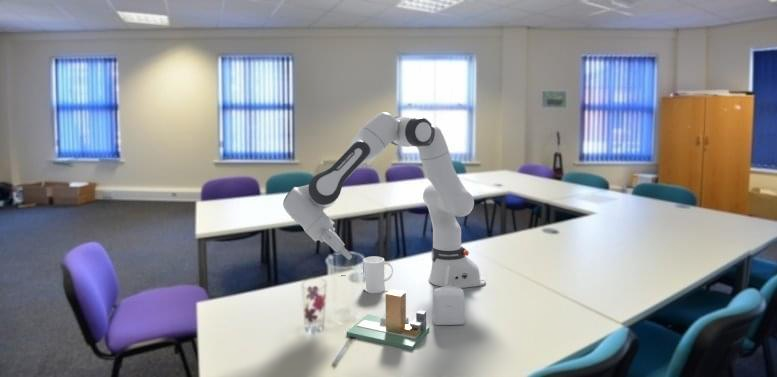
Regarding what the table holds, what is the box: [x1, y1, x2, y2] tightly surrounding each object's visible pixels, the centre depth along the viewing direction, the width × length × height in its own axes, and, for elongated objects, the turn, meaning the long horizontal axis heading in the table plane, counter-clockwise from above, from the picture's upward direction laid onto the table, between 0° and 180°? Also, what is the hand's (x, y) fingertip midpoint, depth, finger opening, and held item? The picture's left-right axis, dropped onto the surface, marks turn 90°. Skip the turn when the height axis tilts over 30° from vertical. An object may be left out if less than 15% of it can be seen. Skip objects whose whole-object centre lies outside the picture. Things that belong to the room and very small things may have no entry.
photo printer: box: [432, 286, 465, 326], centre depth 157 cm, size 10×4×12 cm, turn 90°
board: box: [346, 309, 430, 351], centre depth 151 cm, size 22×14×6 cm, turn 65°
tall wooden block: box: [385, 288, 420, 336], centre depth 148 cm, size 10×4×12 cm, turn 65°
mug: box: [362, 255, 394, 294], centre depth 187 cm, size 12×8×12 cm
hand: (350, 258), depth 161 cm, fingers closed
